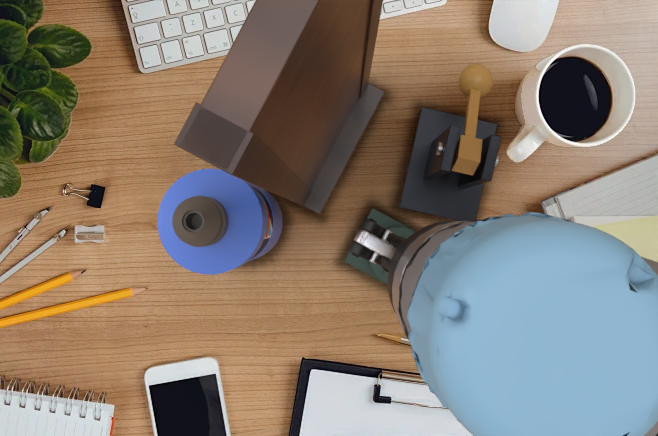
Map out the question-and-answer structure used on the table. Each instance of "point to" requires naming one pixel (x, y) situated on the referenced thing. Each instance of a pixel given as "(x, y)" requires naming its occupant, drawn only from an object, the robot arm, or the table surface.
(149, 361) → the table surface
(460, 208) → the bolt bracket
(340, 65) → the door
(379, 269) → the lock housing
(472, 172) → the bolt lever
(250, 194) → the water bottle
